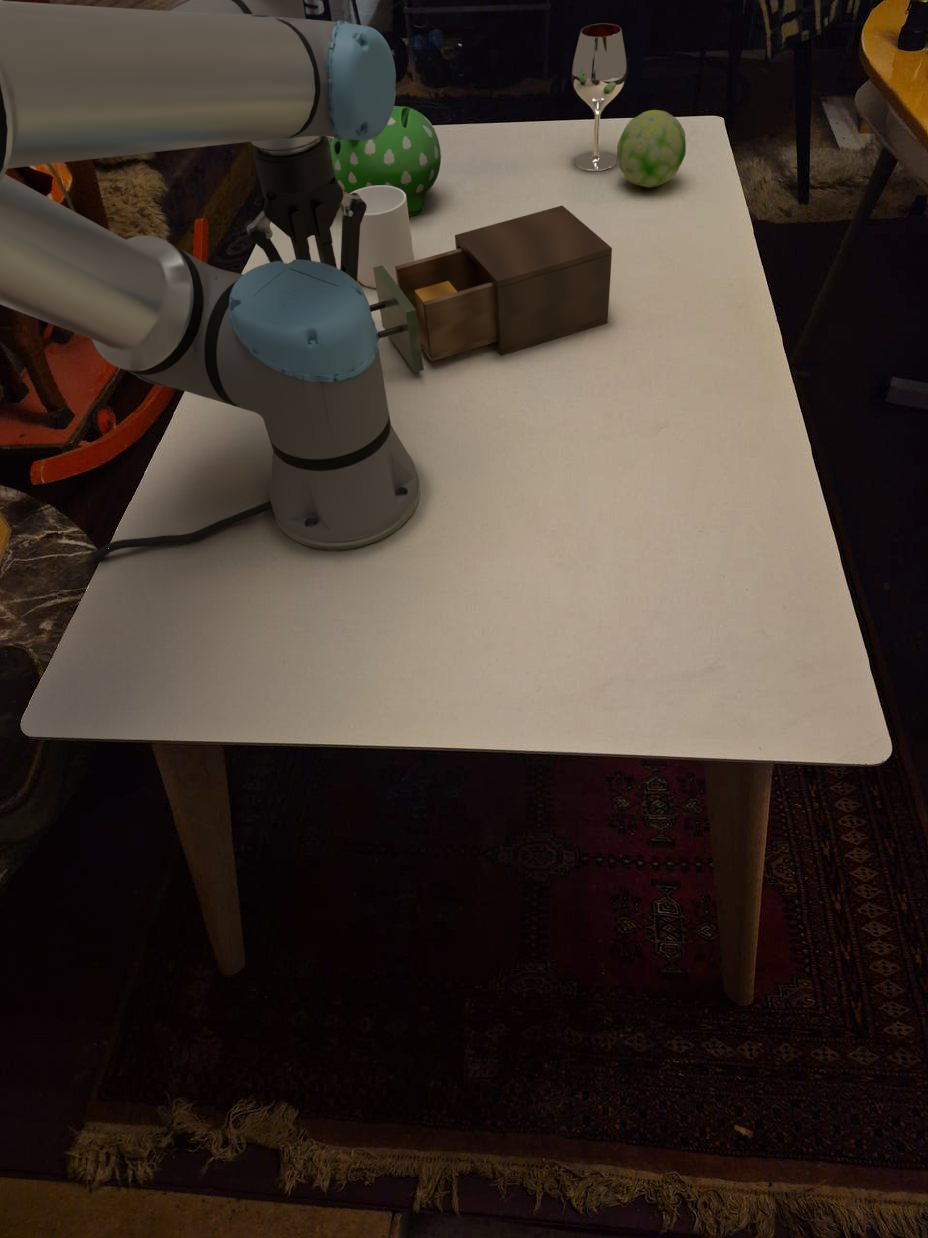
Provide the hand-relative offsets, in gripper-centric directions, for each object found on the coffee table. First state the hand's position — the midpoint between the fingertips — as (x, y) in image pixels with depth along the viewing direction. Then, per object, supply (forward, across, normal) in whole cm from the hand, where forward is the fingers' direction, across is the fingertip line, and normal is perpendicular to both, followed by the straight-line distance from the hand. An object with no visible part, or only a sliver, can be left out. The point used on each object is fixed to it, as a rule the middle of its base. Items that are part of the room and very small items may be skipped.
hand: (335, 351), depth 102 cm
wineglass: (+4, +54, +34) cm, 64 cm away
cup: (+3, +14, +21) cm, 25 cm away
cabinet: (+3, +26, 0) cm, 26 cm away
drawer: (+2, +12, 0) cm, 12 cm away
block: (+1, +14, 0) cm, 14 cm away
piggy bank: (+3, +20, +39) cm, 44 cm away
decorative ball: (+3, +57, +24) cm, 62 cm away
